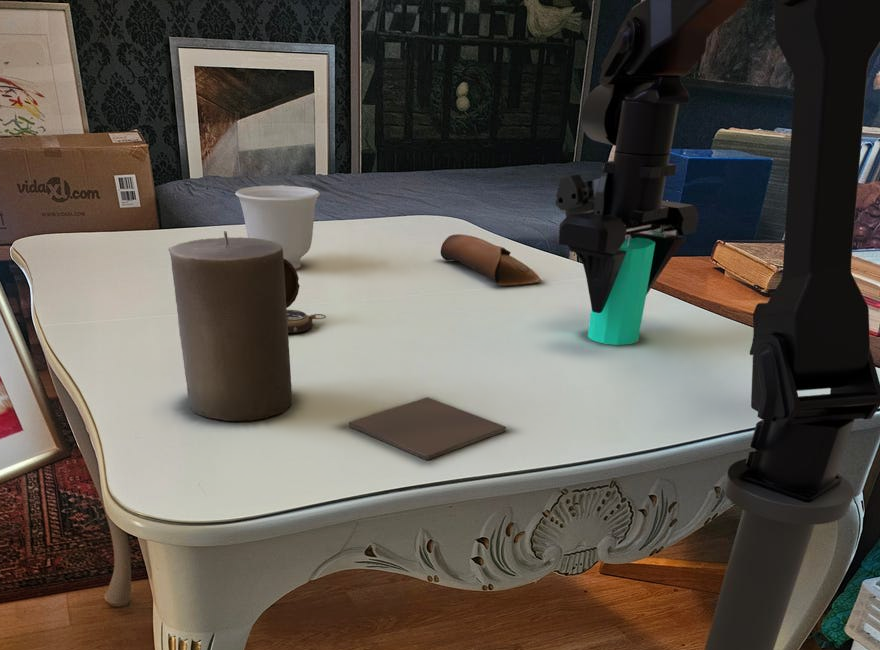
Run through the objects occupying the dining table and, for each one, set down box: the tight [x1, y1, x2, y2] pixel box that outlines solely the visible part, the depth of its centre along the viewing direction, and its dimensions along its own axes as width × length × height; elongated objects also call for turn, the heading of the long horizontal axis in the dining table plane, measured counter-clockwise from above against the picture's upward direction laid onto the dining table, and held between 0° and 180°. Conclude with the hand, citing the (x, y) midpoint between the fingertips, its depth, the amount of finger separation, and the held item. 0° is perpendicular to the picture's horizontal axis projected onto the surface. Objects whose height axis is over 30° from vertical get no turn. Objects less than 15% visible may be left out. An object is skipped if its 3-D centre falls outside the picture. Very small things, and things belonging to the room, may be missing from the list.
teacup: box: [234, 184, 321, 270], centre depth 127 cm, size 12×15×10 cm
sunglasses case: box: [440, 233, 542, 287], centre depth 128 cm, size 18×7×7 cm
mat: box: [348, 397, 507, 461], centre depth 77 cm, size 10×10×1 cm
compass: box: [283, 258, 327, 334], centre depth 101 cm, size 8×8×7 cm
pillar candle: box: [167, 230, 293, 422], centre depth 77 cm, size 10×10×15 cm
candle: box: [587, 234, 656, 346], centre depth 98 cm, size 6×6×12 cm
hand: (617, 306), depth 100 cm, fingers open, 8 cm apart
